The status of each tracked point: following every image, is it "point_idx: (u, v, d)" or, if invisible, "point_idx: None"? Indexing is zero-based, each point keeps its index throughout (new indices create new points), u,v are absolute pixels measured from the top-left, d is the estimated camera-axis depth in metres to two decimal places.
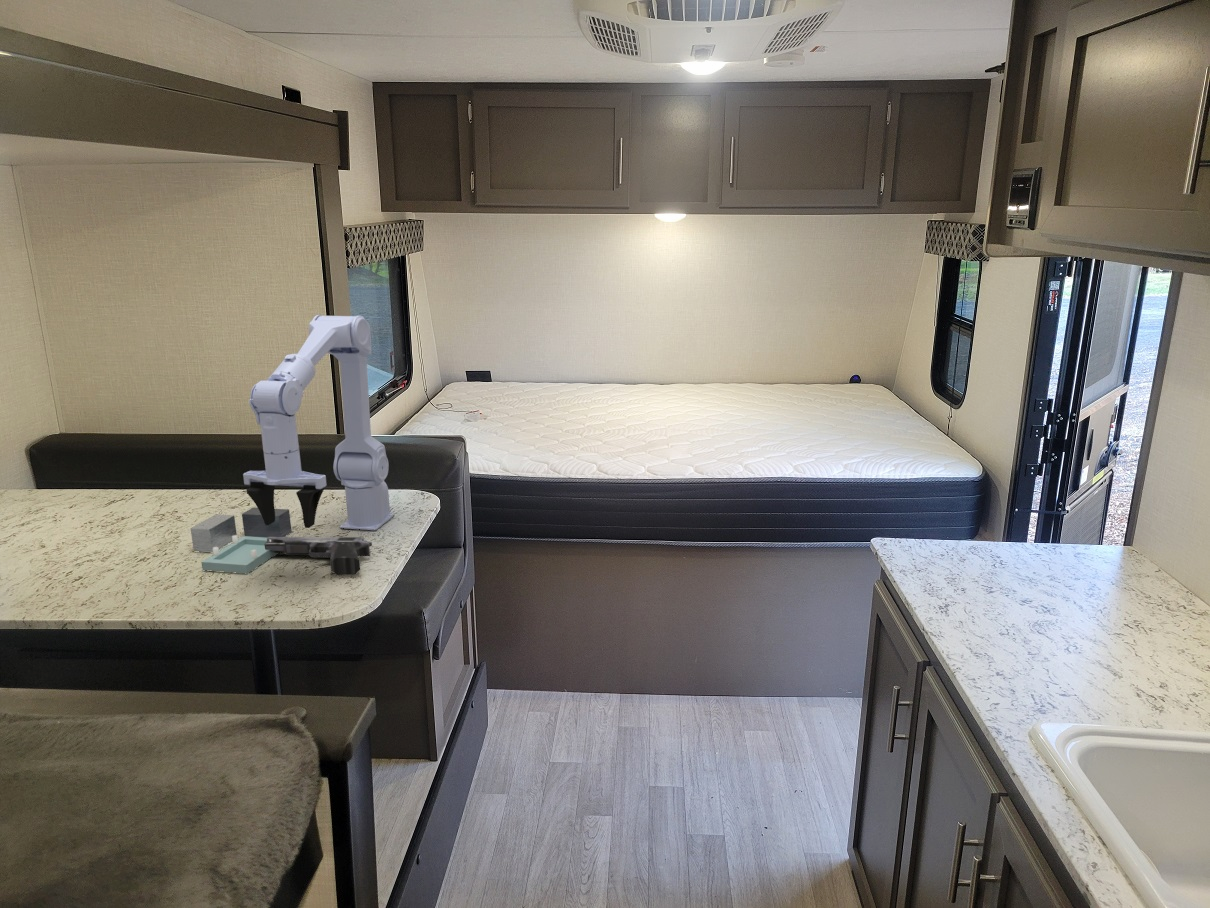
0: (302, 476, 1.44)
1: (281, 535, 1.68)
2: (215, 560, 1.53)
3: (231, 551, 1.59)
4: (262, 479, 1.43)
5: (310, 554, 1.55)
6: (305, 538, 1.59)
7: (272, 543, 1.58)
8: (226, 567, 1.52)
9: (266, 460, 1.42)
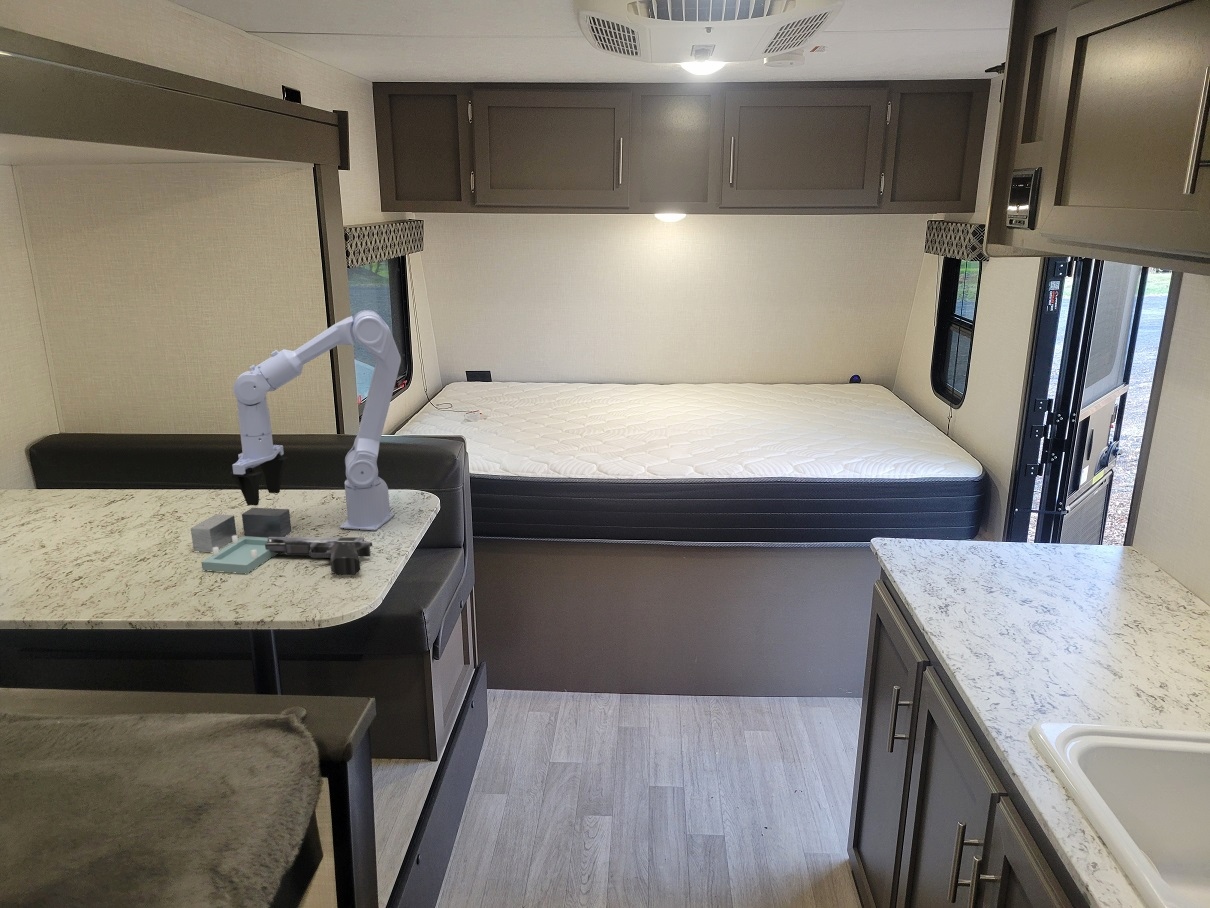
0: (247, 460, 1.63)
1: (282, 535, 1.68)
2: (215, 560, 1.53)
3: (231, 551, 1.59)
4: None
5: (310, 554, 1.55)
6: (306, 538, 1.59)
7: (272, 543, 1.58)
8: (226, 567, 1.52)
9: None
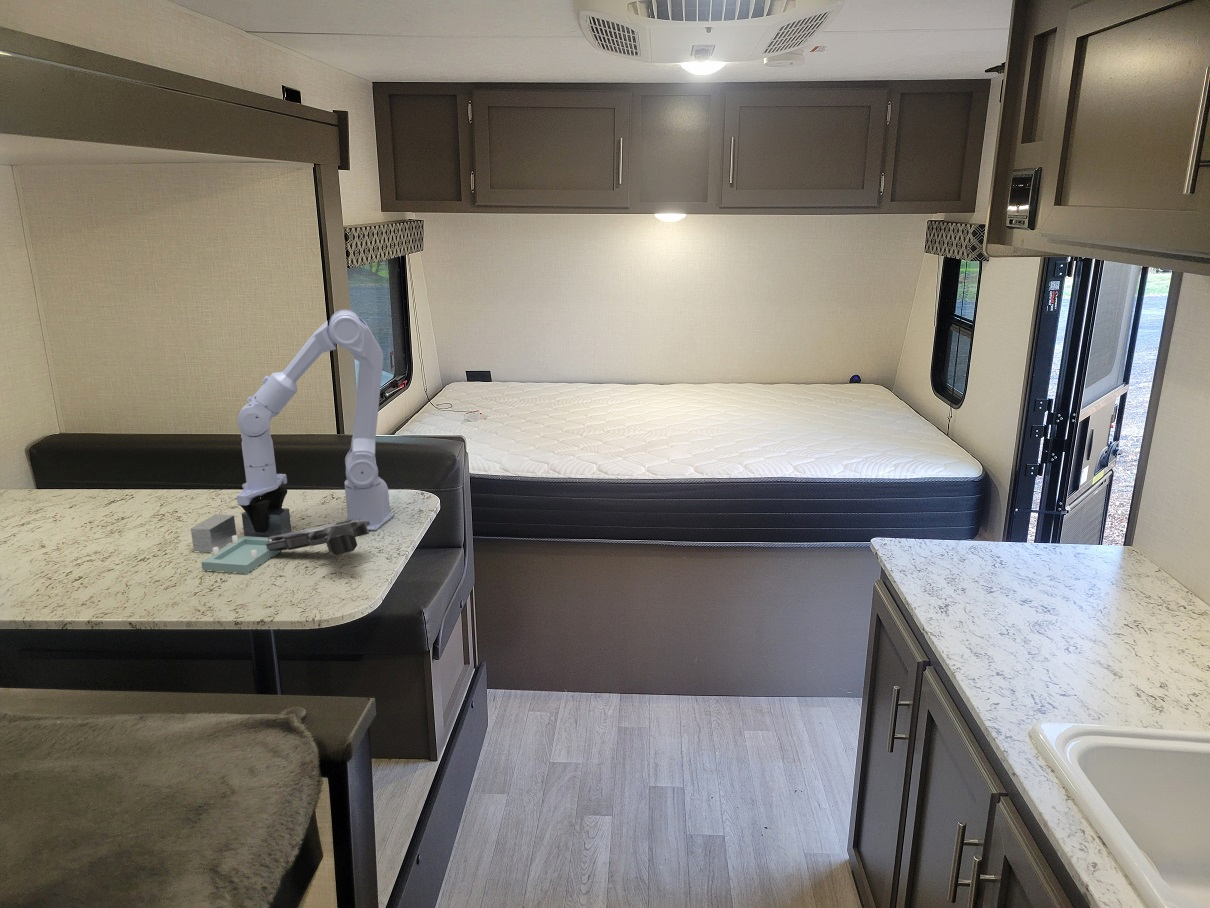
0: (251, 490, 1.65)
1: None
2: (215, 560, 1.53)
3: (231, 551, 1.59)
4: None
5: (309, 543, 1.54)
6: (304, 530, 1.59)
7: (273, 541, 1.58)
8: (226, 567, 1.52)
9: None
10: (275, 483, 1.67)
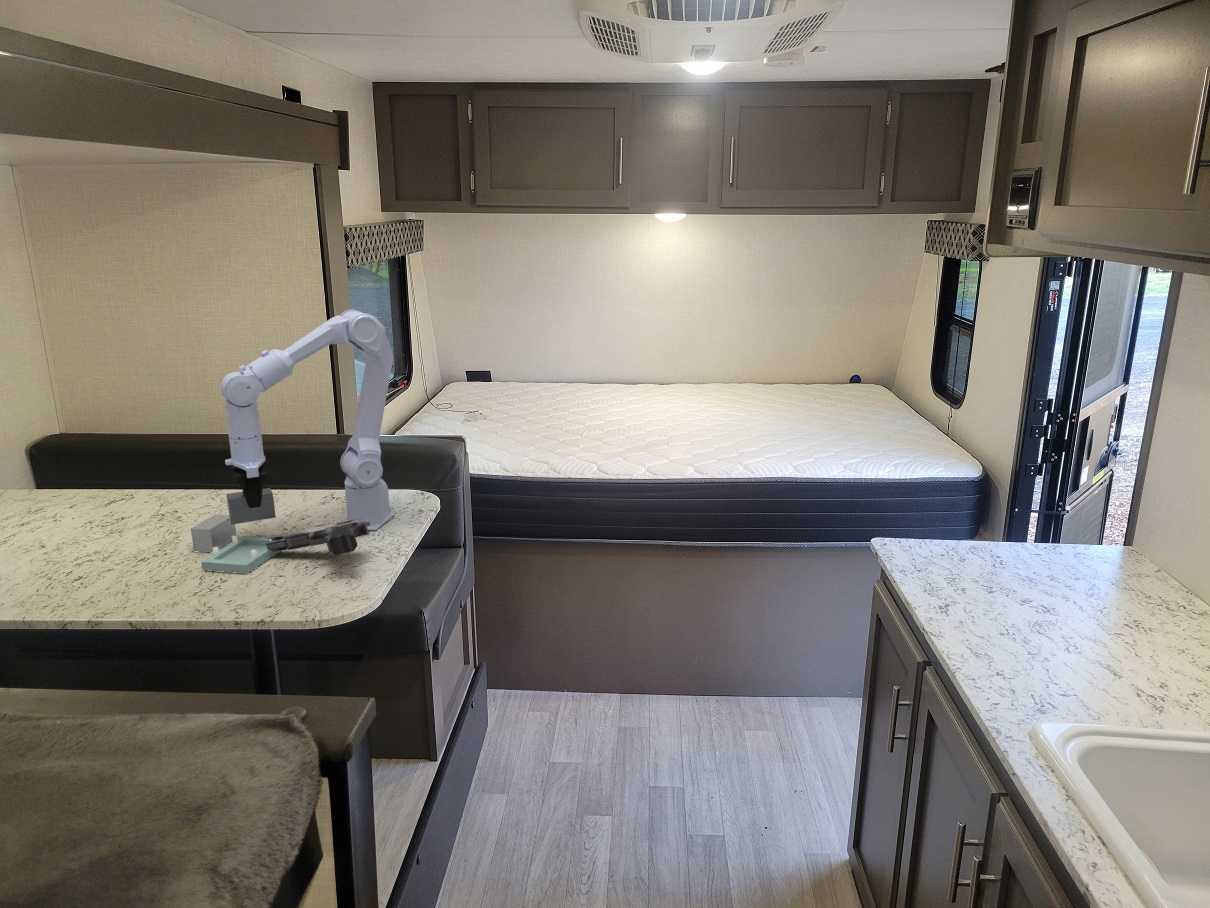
0: (249, 463, 1.58)
1: None
2: (215, 560, 1.53)
3: (231, 551, 1.59)
4: None
5: (309, 543, 1.54)
6: (304, 530, 1.59)
7: (273, 541, 1.58)
8: (226, 567, 1.52)
9: None
10: None
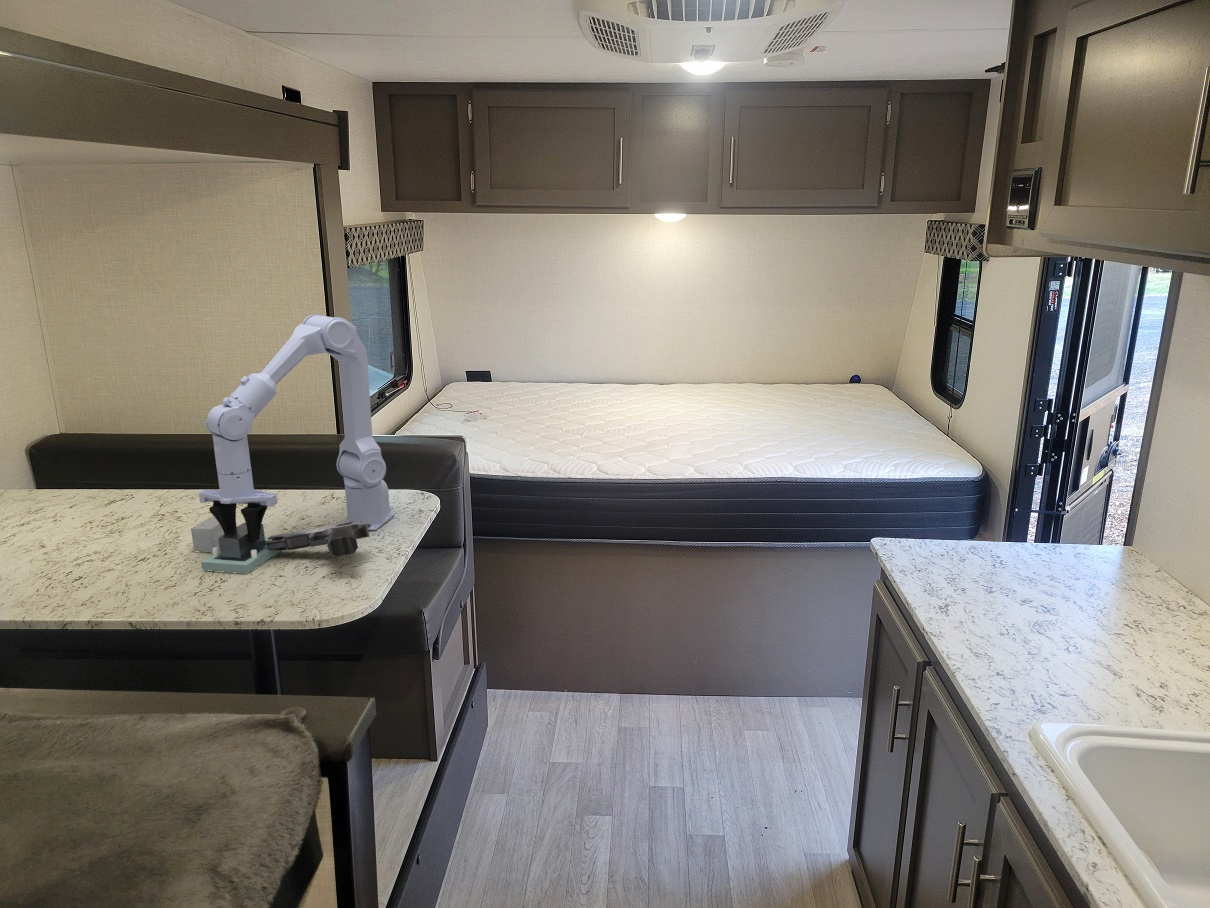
0: (254, 495, 1.54)
1: None
2: (215, 560, 1.53)
3: None
4: (216, 498, 1.53)
5: (310, 543, 1.54)
6: (304, 531, 1.59)
7: (273, 541, 1.58)
8: (226, 567, 1.52)
9: (220, 480, 1.52)
10: None
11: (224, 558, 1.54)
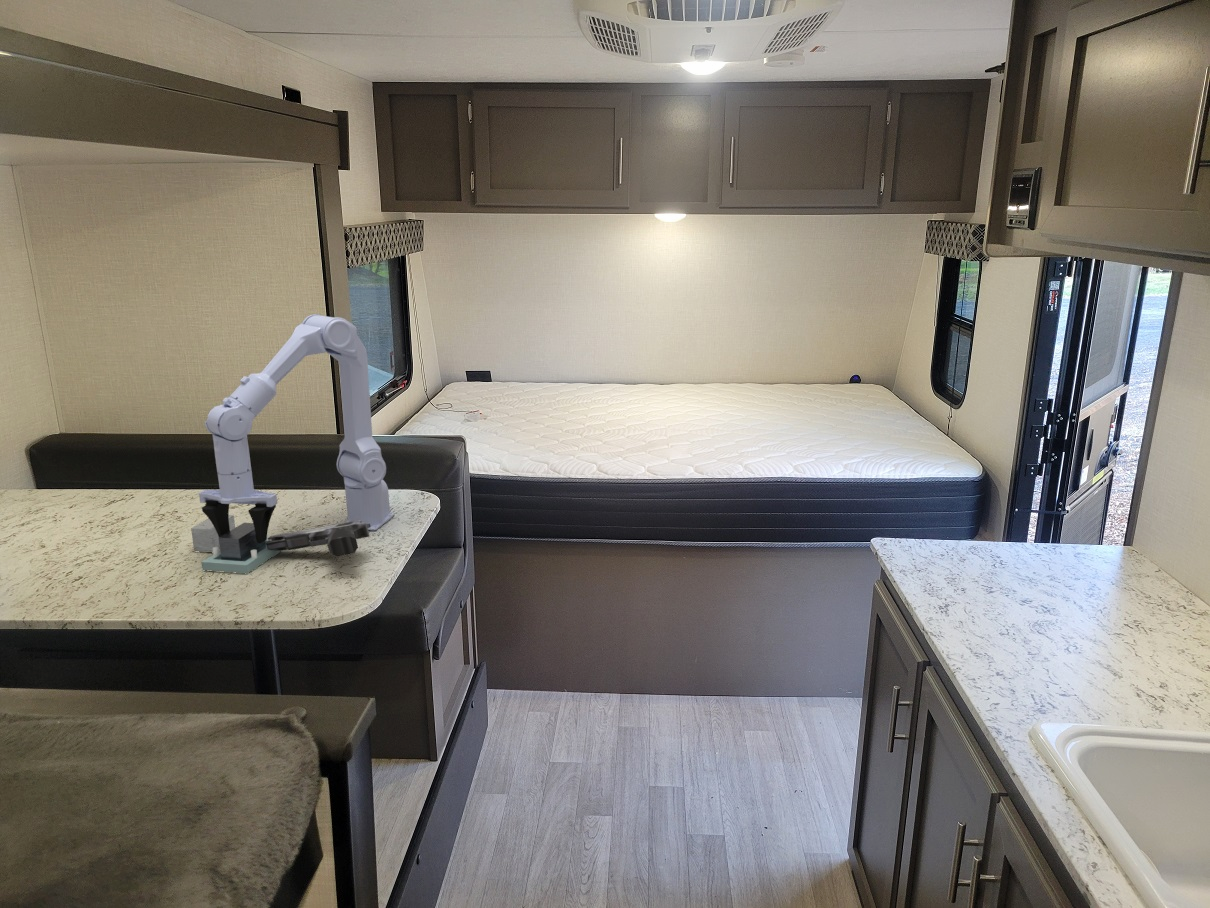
0: (254, 495, 1.54)
1: None
2: (215, 560, 1.53)
3: None
4: (216, 498, 1.53)
5: (310, 543, 1.54)
6: (304, 531, 1.59)
7: (273, 541, 1.58)
8: (226, 567, 1.52)
9: (220, 480, 1.52)
10: None
11: (224, 558, 1.54)
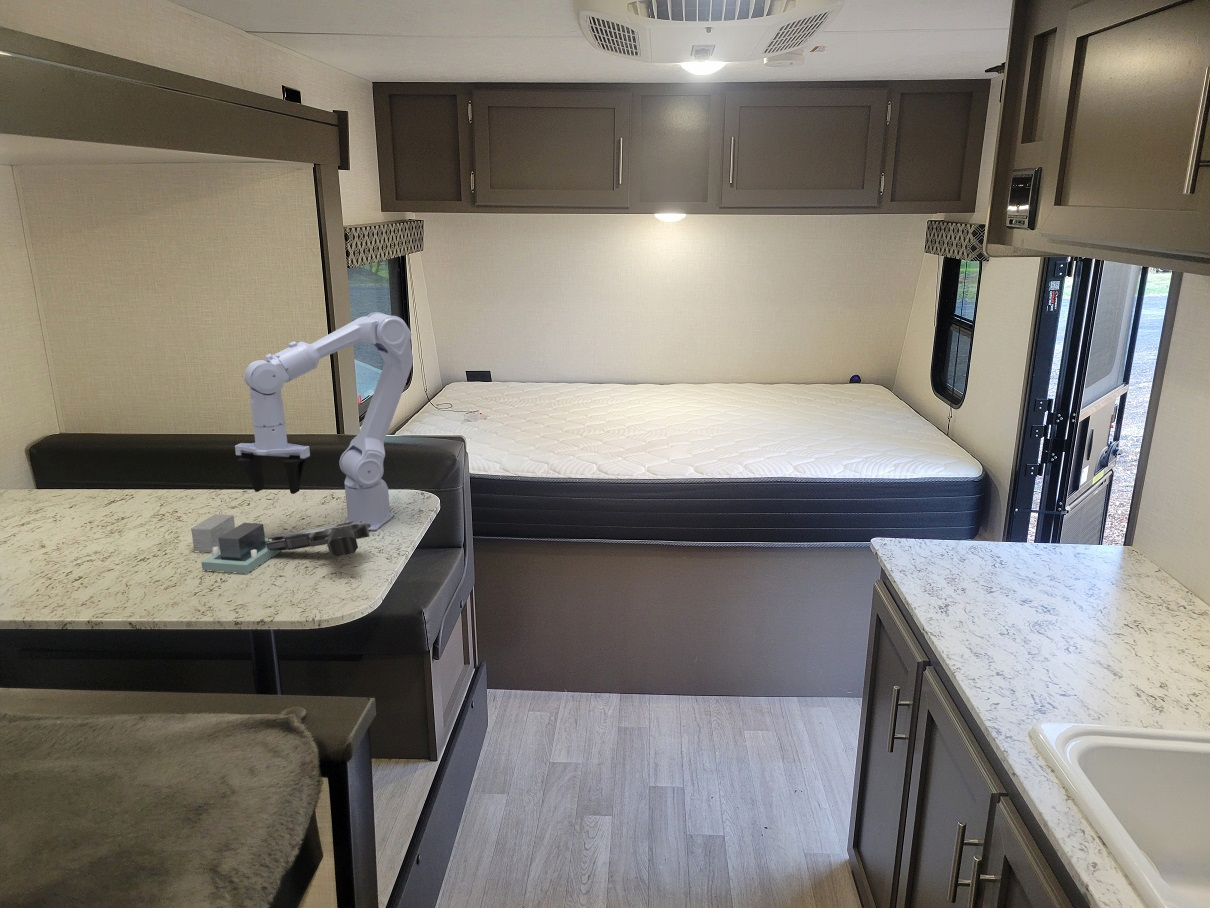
0: (288, 447, 1.61)
1: None
2: (215, 560, 1.53)
3: None
4: (252, 450, 1.60)
5: (310, 543, 1.54)
6: (304, 531, 1.59)
7: (273, 541, 1.58)
8: (226, 567, 1.52)
9: (255, 432, 1.59)
10: None
11: (224, 558, 1.54)
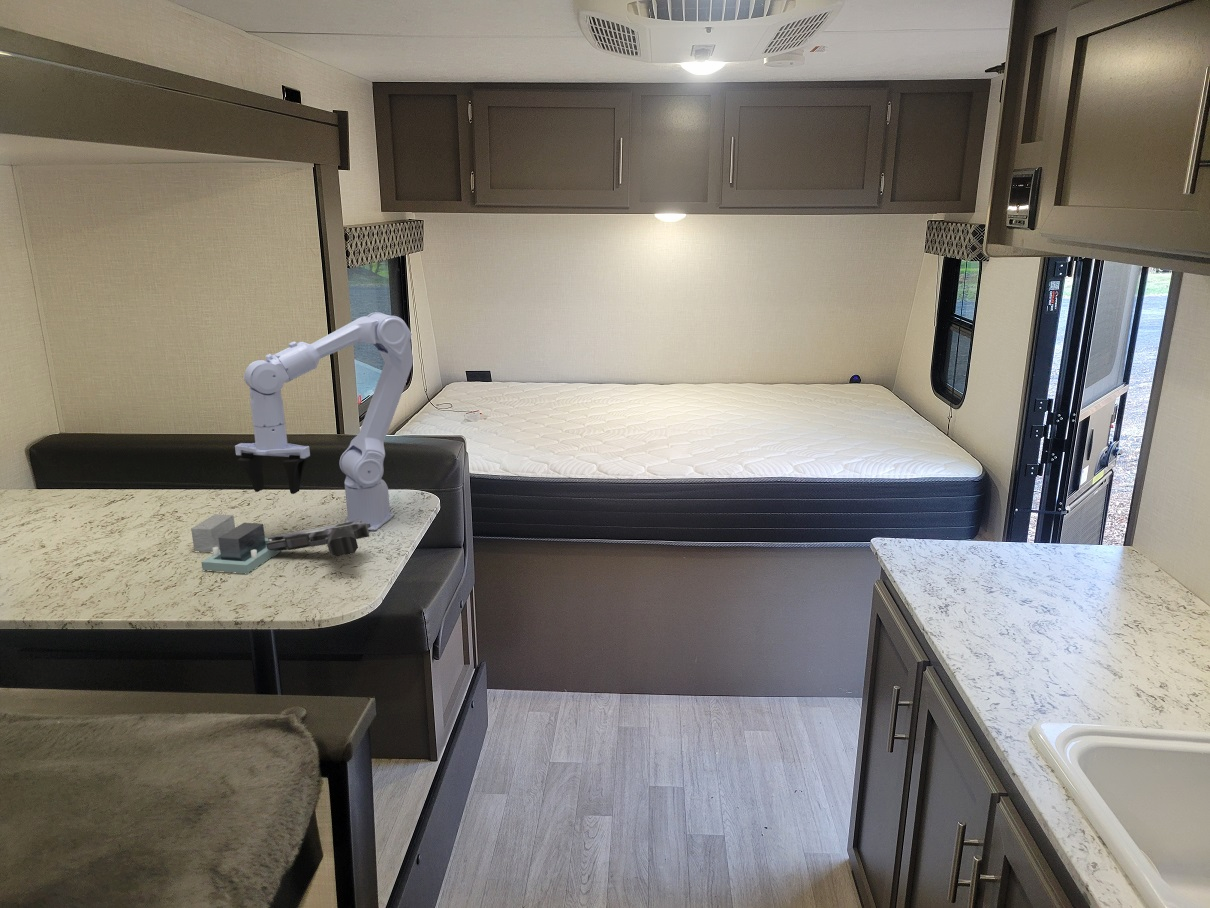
0: (288, 447, 1.61)
1: None
2: (215, 560, 1.53)
3: None
4: (252, 450, 1.60)
5: (310, 543, 1.54)
6: (304, 531, 1.59)
7: (273, 541, 1.58)
8: (226, 567, 1.52)
9: (255, 432, 1.59)
10: None
11: (224, 558, 1.54)
